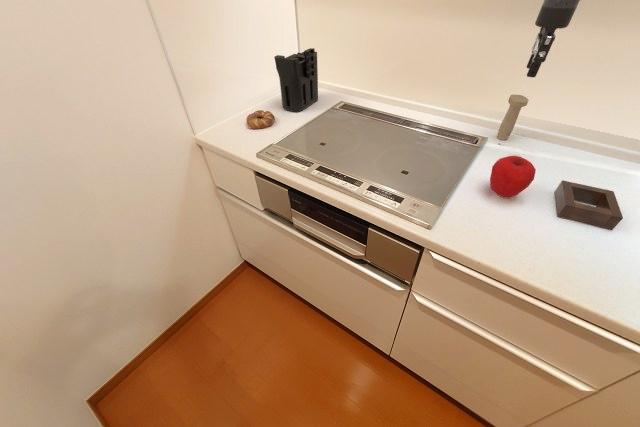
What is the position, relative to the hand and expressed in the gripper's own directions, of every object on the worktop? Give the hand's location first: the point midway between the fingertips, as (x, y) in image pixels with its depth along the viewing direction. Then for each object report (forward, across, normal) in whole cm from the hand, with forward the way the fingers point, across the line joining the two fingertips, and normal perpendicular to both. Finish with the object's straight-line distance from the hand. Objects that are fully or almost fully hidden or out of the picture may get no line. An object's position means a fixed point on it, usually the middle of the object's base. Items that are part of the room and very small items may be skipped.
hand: (530, 72), depth 85 cm
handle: (+23, 0, 0) cm, 23 cm away
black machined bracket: (+23, +2, +78) cm, 81 cm away
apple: (+23, -30, -2) cm, 38 cm away
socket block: (+22, -29, -20) cm, 42 cm away
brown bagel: (+23, -22, +84) cm, 90 cm away
